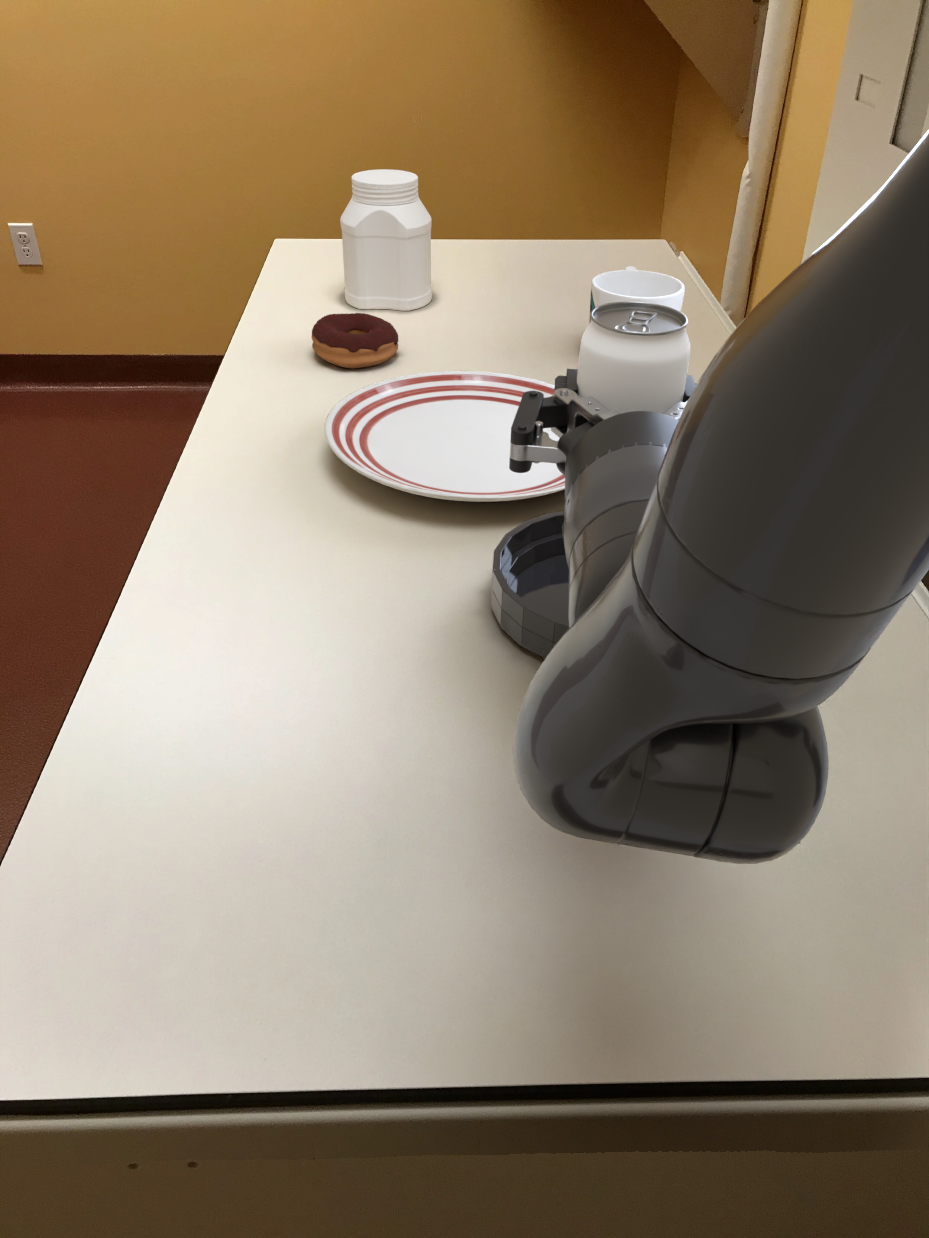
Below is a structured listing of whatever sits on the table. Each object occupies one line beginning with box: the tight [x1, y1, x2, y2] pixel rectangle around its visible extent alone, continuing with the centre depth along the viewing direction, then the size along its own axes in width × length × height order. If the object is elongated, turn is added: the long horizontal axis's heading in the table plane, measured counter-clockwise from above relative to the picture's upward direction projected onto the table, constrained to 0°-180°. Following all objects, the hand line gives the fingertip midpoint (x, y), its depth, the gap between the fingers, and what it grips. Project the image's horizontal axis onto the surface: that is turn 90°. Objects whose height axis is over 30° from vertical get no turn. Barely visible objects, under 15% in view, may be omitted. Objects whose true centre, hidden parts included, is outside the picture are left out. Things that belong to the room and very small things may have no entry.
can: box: [577, 301, 691, 414], centre depth 59 cm, size 6×6×12 cm
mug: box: [588, 265, 686, 325], centre depth 111 cm, size 13×10×8 cm
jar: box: [339, 168, 433, 312], centre depth 123 cm, size 12×10×15 cm
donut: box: [311, 312, 399, 369], centre depth 109 cm, size 10×10×4 cm
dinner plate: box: [324, 370, 565, 503], centre depth 90 cm, size 27×27×3 cm
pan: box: [490, 510, 569, 659], centre depth 70 cm, size 16×16×4 cm
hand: (626, 386), depth 60 cm, fingers closed on can, 6 cm apart
